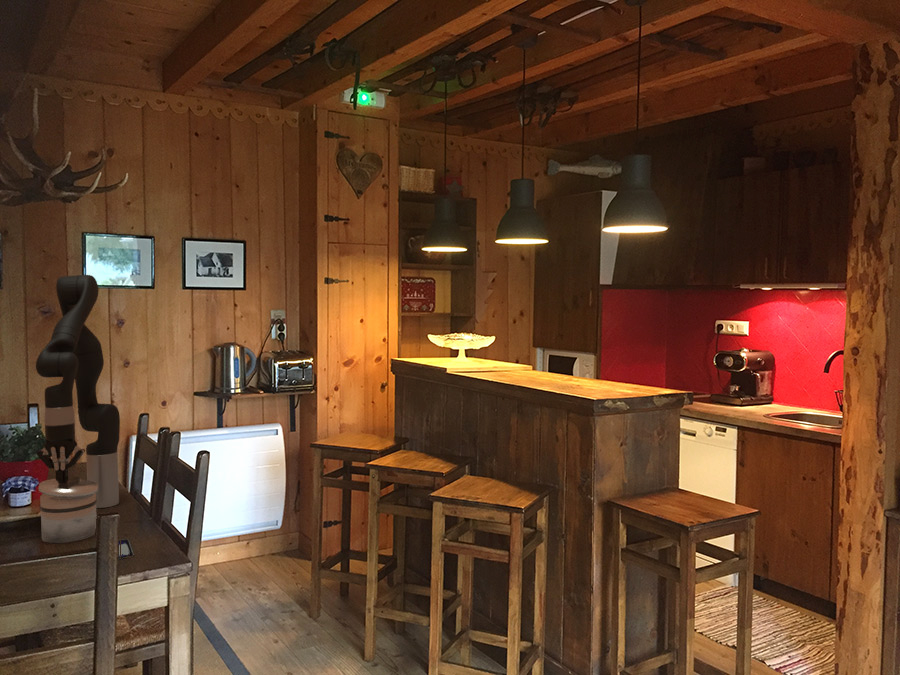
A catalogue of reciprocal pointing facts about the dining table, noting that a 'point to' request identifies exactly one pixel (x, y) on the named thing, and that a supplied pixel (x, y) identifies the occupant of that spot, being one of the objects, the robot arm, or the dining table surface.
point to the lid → (68, 487)
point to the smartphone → (125, 548)
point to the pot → (67, 518)
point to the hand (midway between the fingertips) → (62, 482)
